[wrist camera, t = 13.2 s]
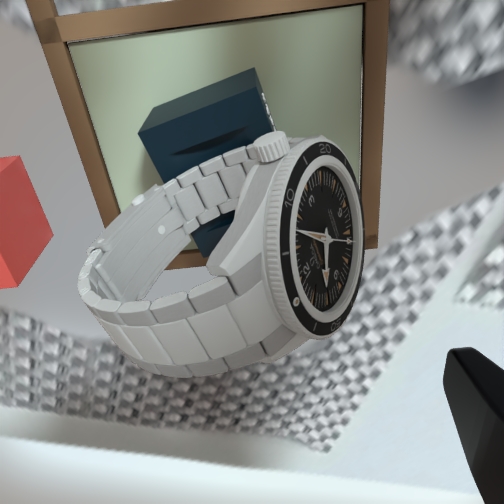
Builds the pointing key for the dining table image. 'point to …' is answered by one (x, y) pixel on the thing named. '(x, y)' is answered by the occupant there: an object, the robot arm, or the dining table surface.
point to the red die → (19, 223)
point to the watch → (229, 238)
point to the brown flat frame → (211, 71)
